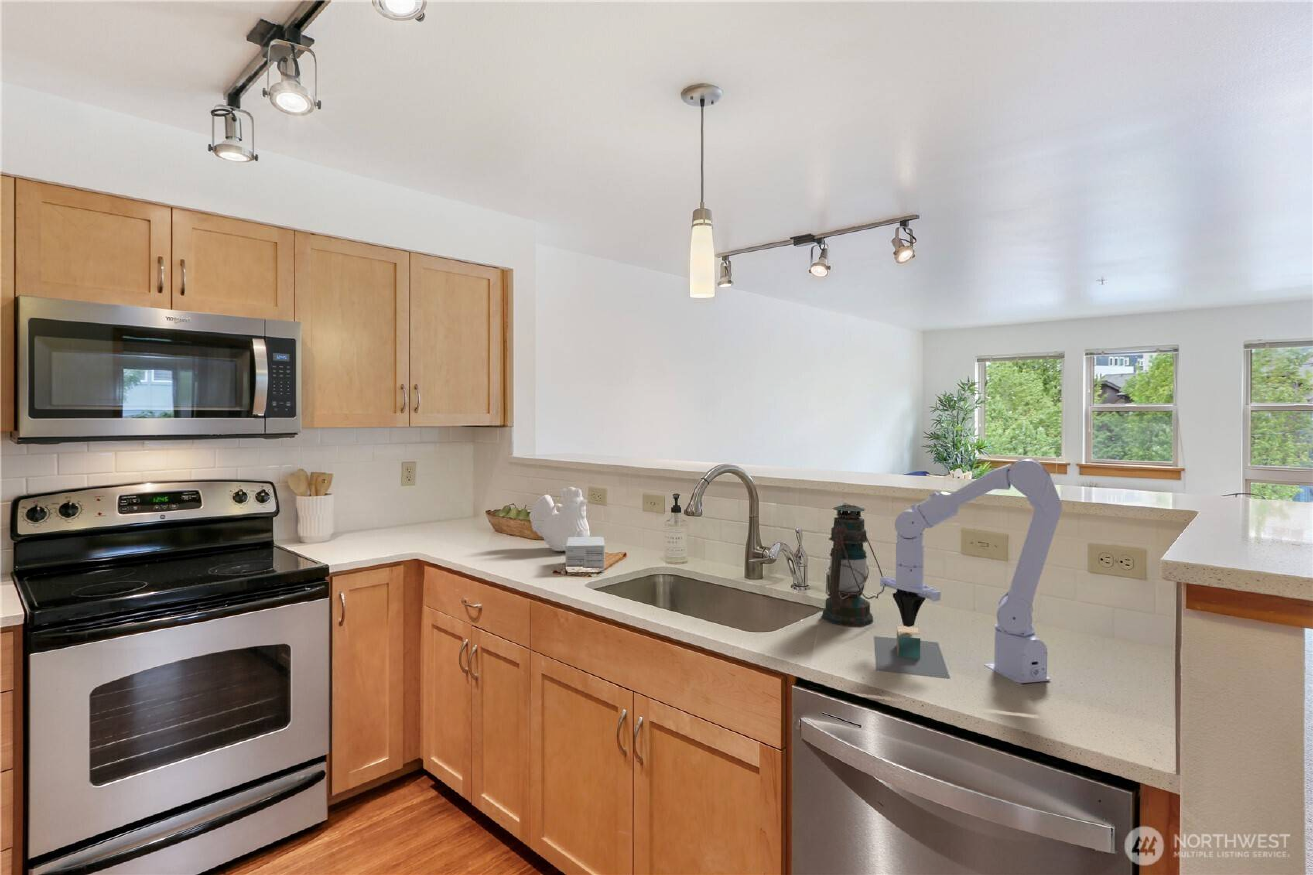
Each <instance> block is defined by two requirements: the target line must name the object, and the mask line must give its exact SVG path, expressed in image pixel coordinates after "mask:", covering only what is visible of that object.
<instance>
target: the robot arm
mask: <svg viewBox="0 0 1313 875" xmlns="http://www.w3.org/2000/svg"><path fill="white" fill-rule="evenodd" d="M1011 465H1012V466H1011ZM1011 487H1013V488H1014V489H1016V490H1017V491H1018V492H1019V493H1021V494H1022V495H1024V496H1025V497H1026V499H1027V501H1028V502H1029V504H1030V505H1031V506H1032V508H1033V509H1034V511H1033V514H1032V516H1031V520H1030V523H1029V526H1028V529H1027V532H1026V536H1025V538H1024V541H1023V545H1022V548H1021V551H1020V553H1019V557H1018V559H1017V560H1018V561H1017V564H1016V567H1015V570H1014V573H1013V576H1012V579H1011V581H1010V584H1009V588H1008V590H1007V592H1006V593H1005V594H1004V595H1003V596H1001V597H1000V599H999V601H998V609H997V611H996V620H997V622H996V623H995V624H994V652H993V653H994V654H993V655H994V657H993V658H994V659H993V660H994V661H993V663H985V664H984V665H983V666H985V667H986V668H988V669H991V670H993V671H994V672H996V673H998V674H999V675H1002V676H1004V677H1006V678H1008V679H1010V680H1011V681H1013V682H1016V683H1020V684H1026V683H1027V684H1029V683H1037V682H1040V683H1041V682H1047V681H1051V678H1050V677H1049V676H1048V648H1047V645H1046V643H1045V642H1044V641H1042V640H1041V639H1039V638H1038V636H1037V635H1036V633H1035V632H1036V630H1035V627H1033V625H1032V623H1033V615H1032V614H1033V612H1034V608H1033V603H1034V600H1035V599H1034V598H1035V595H1036V592H1037V591H1036V590H1037V587H1038V584H1039V582H1040V578H1041V575H1042V572H1043V570H1044V565H1045V563H1046V559H1047V557H1048V553H1049V551H1050V547H1051V544H1052V541H1053V538H1054V535H1055V533H1056V529H1057V526H1058V523H1059V520H1060V517H1061V513H1062V510H1063V504H1062V501H1061V498H1060V495H1059V492H1058V490H1057V489H1056V486H1055V484H1054V480H1053V479H1052V476H1051V474H1050V472H1049V471H1048V470H1047V469H1046V468H1045V466H1044V465H1043V464H1042V463H1041V462H1040V461H1039V460H1037V459H1035V458H1030V457H1023V458H1019V459H1018V460H1016V461H1015V462H1013V464H1012V463H1008V464H1006V465H1002V466H1000V467H997V468H995V469H992V470H991V471H989V472H986V473H985V474H983V475H982V476H979V477H978V478H976V479H974V480H973V481H970V482H969V483H967V484H965V485H964V486H962V487H960V488H958V489H957V490H955V491H954V492H953V491H952V492H946V491H939V492H937V491H934V492H932V493H931V494H929V496H930V497H929V498H926V499H925V500H923V501H921V502H919V503H917V504H916V503H913V504H911V505H910V508H911V509H910V508H909V509H906V510H904V511H902V512H900V514H898V515H897V517H896V518H895V521H894V529H895V531H896V544H895V578H894V577H893V578H892V577H888V576H883V577H882V576H881V577H880V579H879V583H880V584H879V586H880V587H882V588H883V587H884V588H889V589H894V590H895V592H893V593H892V598H893V599H894V601H895V603H896V606H897V608H898V610H899V613H900V617H901V621H902V622H901V623H902V626H903V627H913V626H915V622H916V620H917V616H918V613H919V611H920V609H921V607H922V605H923V603H924V601H925V600H926V599H928V600H930V601H932V602H939V601H941V594H942V593H941V590H937V589H934V588H932V587H930V586H928V585H925V582H924V561H925V560H924V558H925V554H924V553H925V550H924V549H925V545H924V533H923V532H925V529H932V528H934V527H937V526H938V525H940V524H942V523H944V522H946V521H947V520H949V519H952V518H953V517H955V516H957V515H958V513H959V509H960V507H961V506H962V505H964V504H967V503H968V502H970V501H973V500H974V499H975V500H976V499H977V498H979V497H981V496H983V495H986V494H988V493H989V492H991V491H994V490H1003V491H1004V490H1007V491H1008V490H1010V489H1011Z"/></svg>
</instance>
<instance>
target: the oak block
mask: <svg viewBox="0 0 1313 875" xmlns="http://www.w3.org/2000/svg"><path fill="white" fill-rule="evenodd" d="M896 638H897V651H898V656H899V657H909V658H918V659H920V641H921V635H920V632H919V628H918V627H913V626H910V627H907V626H904V625H902V626H900V625H897V626H896Z"/></svg>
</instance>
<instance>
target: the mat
mask: <svg viewBox="0 0 1313 875" xmlns="http://www.w3.org/2000/svg"><path fill="white" fill-rule="evenodd" d="M873 639H874V656H875V658H874V659H875V671H876V672H884V673H885V672H888V673H894V674H895V673H897V674H904V675H913V676H922V677H930V678H940V679H947V680H948V679H951V678H950V674H949V671H948V668H947V666H946V662H945V660H944V657H943V656H944V655H943V654H942V650H941V647H940V644H939V642H937V641H930V640H929V641H927V640H926V641H925V640H920V659H918V658H909V657H899V656H898V651H897V637H896V638H895V637H885V636H878V635H877V636H876V635H875V636H873Z"/></svg>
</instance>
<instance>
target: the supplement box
mask: <svg viewBox="0 0 1313 875" xmlns="http://www.w3.org/2000/svg"><path fill="white" fill-rule="evenodd" d="M605 549H606V548H605V538H604V536H590V537H568V538H567V544H566V551H565V567H583V568H599V569H603V570H604V571H605V559H606V558H605V557H606V556H605V552H606V550H605Z"/></svg>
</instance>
